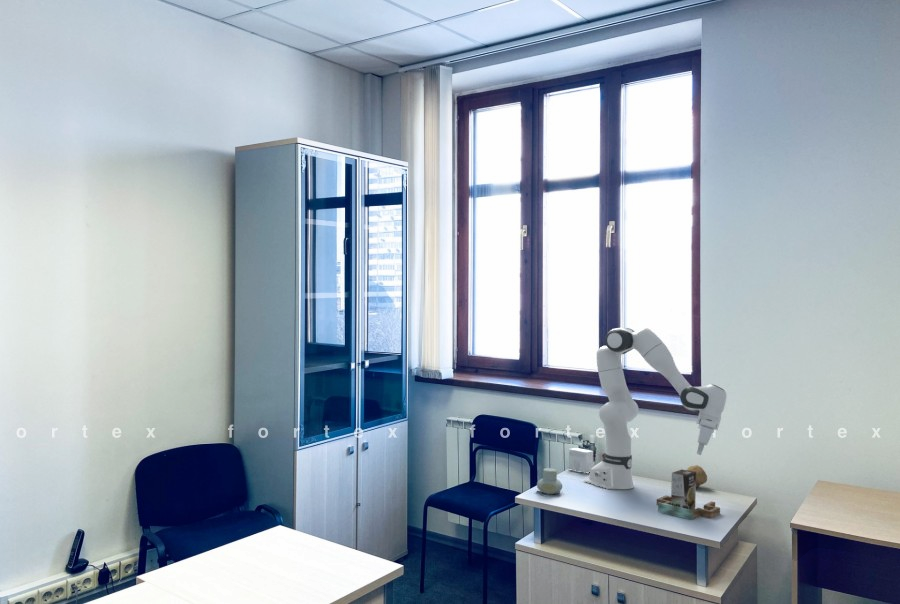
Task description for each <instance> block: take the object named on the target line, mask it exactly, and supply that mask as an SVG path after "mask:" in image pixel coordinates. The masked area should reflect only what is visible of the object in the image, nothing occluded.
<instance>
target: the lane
mask: <svg viewBox="0 0 900 604" xmlns="http://www.w3.org/2000/svg"><path fill="white" fill-rule="evenodd" d="M656 506H657V512H658V513H661V512H662V513H661V514H667V515H670V516H674V517H678V518H682V519H686V520H690V521H693V520H694V519H696V517H697V518H698V517H704V518H709V519H713V518H715V517H717V516H719V515H720V514H721V508H720V506H716V502H715V501H710V502H707V503H706V504H703V508H702V507H701V508H700V507H697V508H695V510H690V509H686V508H682V507H677V506H673V505H671V495H666V494H665V495H663V496H661V497H659V498H656Z"/></svg>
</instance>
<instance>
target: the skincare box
mask: <svg viewBox="0 0 900 604" xmlns="http://www.w3.org/2000/svg"><path fill="white" fill-rule="evenodd" d="M592 467H594V451H593V450H591V449H584V448H579V447H574V448H573V447H572V448H569V449H568V471H570V470H569V469H572V470H576V471H581V472H585V473H586V472H589V471H590V470H591V468H592ZM576 471H575V472H576Z"/></svg>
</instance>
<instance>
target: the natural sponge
mask: <svg viewBox="0 0 900 604" xmlns="http://www.w3.org/2000/svg"><path fill="white" fill-rule="evenodd" d="M686 470H688V471H694V472H696V488H698V487H700V486H701V485H704V484H706V483H707V481H708V475H707V473H706V471H705V470H704V469H703V467H701V466H700V465H697V464H696V465H691V466H689V467H687V469H686Z"/></svg>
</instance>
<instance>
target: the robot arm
mask: <svg viewBox="0 0 900 604" xmlns="http://www.w3.org/2000/svg"><path fill="white" fill-rule="evenodd" d="M604 343H605V345H603V346H601V347H599V348H598V349H597V351H596V365H597V366H596V367H597V371H598V377H599V382H600V386H601V389H602V391H603V392H604V394H606V396H607V398H608V402H607V401H606V402H605V404H603V405H602V406H601V407H600V409H599V411H598V415H599V416H598V417H599V419H600V421H601V422H602V423H603V427H604V428H603V429H604V432H605V443H606V444H605V445H606V446H605V453H603V454H601V455H600V458H602V460H601V461H600V462H598V463H597V464H595V465H593V467H592V468H591V470H590V473H588V474H589V475H588V476H587V477H585V478H584V479H583V480H584V481H585V482H584V481H583V482H584V483H586V482H587V484H589V483H591V484H590V485H593V484H594V485H593V486H596V485H597V486H596V487H599V486H600V488H602V487H603V489H605V488H606V489H607V490H630V489H633V488H634V487H635V484H634V481H633V474H632V466H633V456H632V438H631V437H632V436H631V435H630V433H629V431H628V430H629V429H628V423H629V422H631V421H633V420H634V419H636V417H637V416H638V414H639V405H638V403H637V402H636V401H635V399H633V396H632V395H631V392H630V390H629V388H628V386H627V382H626V378H625V374H624V373H625V372H624V370H623V369H624V368H623V364H622V359H621V358H622V356H623V355H625V354H627V353H629V352H630V351H632V350H633V349H634V350H635V351H637V352H638V354H640V356H641V357H642V358H643V360H644V361H645V362H646V363H647V364H648V366H650V367H651V368H653V370H655V371H656V372H658V373H659V374H661V375H662V376H663V377H664V378H665V379H666V380H667V381H668V382H669V383H670V385H671V386H672V387H673V388H674V390H675V391H676V392H677V394H678V395H679V400H680V402H681V404H682V406H683V407H684V409H686V411H689V412H692V413H693V412H698V416H697V420H696V425H698V427H697V428H698V429H699V431H698V432H699V434H698V438H697V443H698V445H697V451H696V454H697V455H699V456H701V455H702V453H703V450H704V448H705V446H708V444H709V441H710V440H711V437H712V434H714V432H715V430H716V431H718V430H719V426H720V424H721V420H722V413H723V412H724V410H725V408H726V407H725V406H726V402H727V394H728V393H727V392H726V390H725V389H724V388H722V387H720V386H718V385H715V384H713V383H710V384H707V385H703V386H692V385H691V384H690V383H689V381H687V379H686V378H685V377H684V376H683V374H682V373H681V372H680V370H679V369H678V367H677V365H676V363H675V360H674V357H673V355H672V353H671V351H670V349H669V348H668V347H667V345H666V344H665V342H663V341H662V339H661V338H660V336H658V335H657V334H656V333H655V332H653V331H652V330H651V329H650V328H647V327H642V328H640V329H638V330H636V331H635V330H634V329H632V328H629V327H617V328H612V329H610V330H609V331H608V332H607V333H606V335H605V338H604ZM606 489H605V490H606Z"/></svg>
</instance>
